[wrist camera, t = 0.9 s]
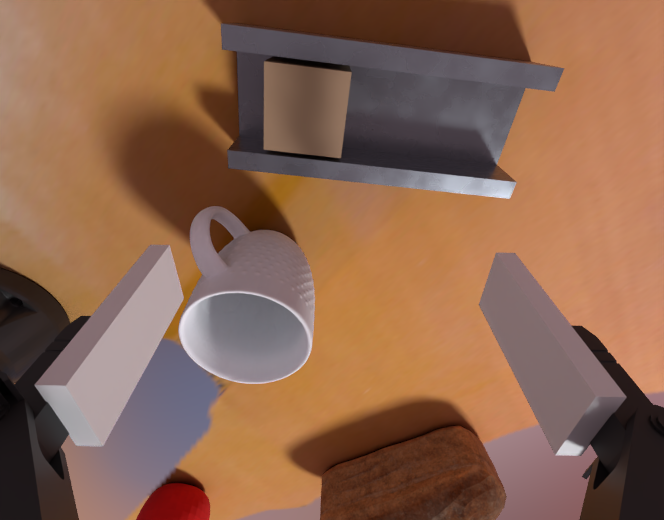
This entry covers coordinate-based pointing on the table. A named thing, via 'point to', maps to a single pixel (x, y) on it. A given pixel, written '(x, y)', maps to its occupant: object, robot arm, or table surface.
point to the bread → (417, 481)
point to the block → (305, 106)
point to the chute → (392, 111)
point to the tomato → (176, 504)
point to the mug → (248, 303)
